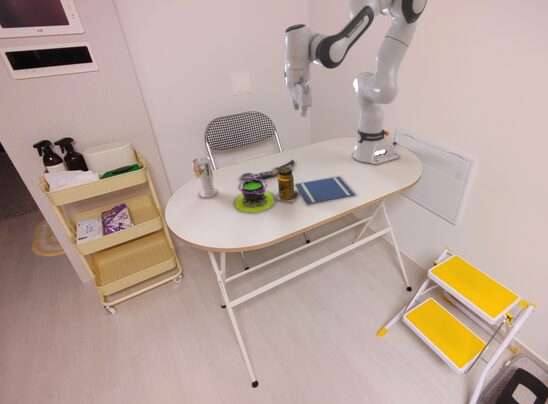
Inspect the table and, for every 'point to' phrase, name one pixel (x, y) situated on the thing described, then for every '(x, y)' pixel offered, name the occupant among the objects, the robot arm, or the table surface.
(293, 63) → the robot arm
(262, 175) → the knife
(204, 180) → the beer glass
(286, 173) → the condiment
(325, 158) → the table surface
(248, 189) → the toy cauldron
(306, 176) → the table surface
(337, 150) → the table surface
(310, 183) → the blue board
